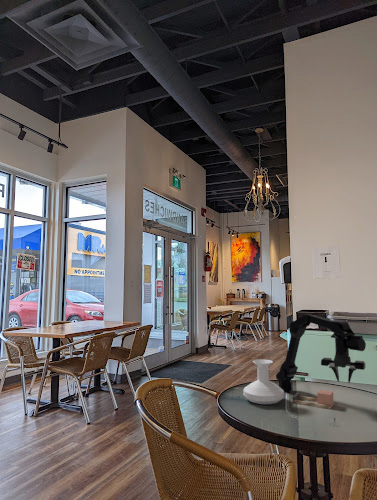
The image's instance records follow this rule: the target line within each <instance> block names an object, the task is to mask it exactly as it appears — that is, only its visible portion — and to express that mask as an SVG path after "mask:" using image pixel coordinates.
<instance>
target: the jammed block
mask: <svg viewBox="0 0 377 500" xmlns="http://www.w3.org/2000/svg"><path fill="white" fill-rule="evenodd" d="M316 396H317V397H316V398H318V402H317V403H318V404H324V405H330V406H331V409H332V408H333V406H334V404H335V401H334V391H332V390H331V391H330V390H323V389H319V390H318V392H317V394H316Z"/></svg>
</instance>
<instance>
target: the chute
mask: <svg viewBox="0 0 377 500" xmlns="http://www.w3.org/2000/svg"><path fill="white" fill-rule="evenodd" d="M291 403H292V404H298V405H303V406H309V407H315V408H322V409H328V410H331V409H332V408H331V406H330V405H324V404H318V398H317V397H310V396H303V395H301V392H299V391H298V392H296V393H295V394H294V395H293V396H292V399H291Z"/></svg>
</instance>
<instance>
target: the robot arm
mask: <svg viewBox="0 0 377 500" xmlns="http://www.w3.org/2000/svg"><path fill="white" fill-rule="evenodd" d="M311 324H314V325H317V326H321V327H324V328H326V329H328V330H329V331H331V332H332V333H333V334H332V335H330V338H331V339H332V338H333V339H334V343H335V347H334V348H335V353H334V358H331V357H323V358H322V359H320V365H321V366H325V367H328V368H329V369H331V370H332V371H333V372H334V373H333V374H334V375H335V378H336V380H337V383H338V382H340V376H339V368H346V367H349V368H348V379H347V383H348V384H350V383H351V381H352V380H351V379H352V376H353V373H354V372H355V371H356V370H361V371H362V370H363V371H364V370H366V362H365V361H364V360H355V361H354V362H353V361H351V357H350V353H349V351H350V350H352V351H357V352H364V351H366V350H365V349H366V347H367V346H366V345H367V344H366V341H365V339H364V337H363V335H360V334H359V335H356V334H355V332H354V331H353V329H352V328H351V326H350V324H349V322H348V321H346V320H338V319H337V320H335V319H329V318H327V317H322V316H319V315H315V314H313V313H305V314H303V315H302V316H301V317H299V318H297V319H296V320H293V321H291V322H290V323H289V329H288V331H289V334H290V337H289V338H290V339H289V341H288V342H289V343H288V346H287V347H288V348H287V351H286V352H287V353H286V355H285V359H284V361H283V362H282V364H281V366H280V368H279V371H278V372H277V373H276V375H275V378H276V380H278V386H279V387H280V388H281V389H283V390H284V393H288V394H289V393H291V392H292V391H294V387H293V385H294V384H293V383H294V382H293V379H294V378H295V376H296V374H297V372H298V368H299V367H298V366H297V365H296V358H297V354H298V350H299V345H300V341H301V338H302V337H303V335H304V334H305V332H306V330H307V327H309V326H310V325H311Z"/></svg>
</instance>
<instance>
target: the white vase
mask: <svg viewBox="0 0 377 500" xmlns="http://www.w3.org/2000/svg"><path fill="white" fill-rule="evenodd" d="M252 363H253V364H255V365H256V367H257V368H256V370H257V380H254V381H252V382H251V383H249V384H248V385H247V386H245V387H244V388H243V390H242V391H243V396H244V397H245V398H246V399H247V400H248V401H249V402H251V403H254V404H258V405H274V404H277V403H279V402H280V401H282V400H283V399H284V398H285V392H284V390H283V389H281V388H280V387H279V384H278V385H277V384H276V383H274V382H273V381H271V380H270V378H269V366H270V365H271V364H273V363H274V362H273V360H270V359H265V358H263V359H261V358H260V359H253V360H252Z"/></svg>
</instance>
